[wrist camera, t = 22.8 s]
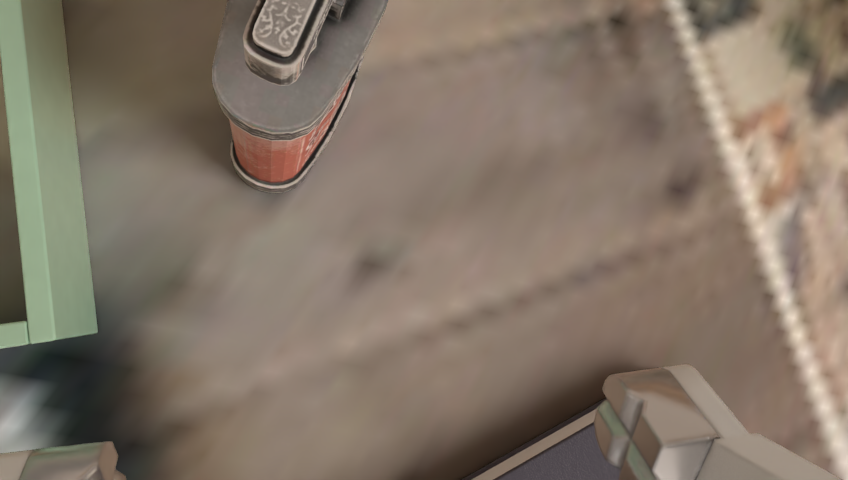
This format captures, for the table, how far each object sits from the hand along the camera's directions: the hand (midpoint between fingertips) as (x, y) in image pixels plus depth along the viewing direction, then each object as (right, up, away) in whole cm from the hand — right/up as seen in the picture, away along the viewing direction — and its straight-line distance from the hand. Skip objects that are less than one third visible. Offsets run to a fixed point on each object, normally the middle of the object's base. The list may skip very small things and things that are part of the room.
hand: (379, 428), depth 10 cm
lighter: (-4, +9, +11) cm, 15 cm away
